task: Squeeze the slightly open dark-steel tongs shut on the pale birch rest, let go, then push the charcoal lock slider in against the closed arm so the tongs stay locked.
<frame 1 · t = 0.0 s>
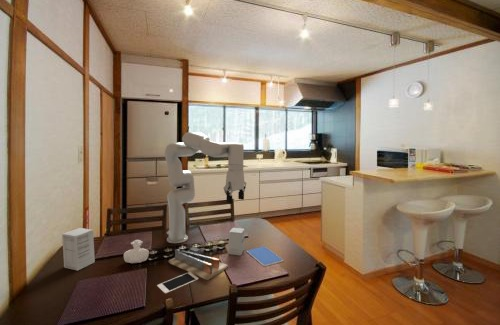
hand: (235, 201, 129), 31 cm above the table, fingers open, 9 cm apart
rest board: (177, 260, 130), on the table
tablet computer: (264, 257, 137), on the table
cell phone: (178, 283, 111), on the table
tongs hinged arm: (199, 258, 125), point 3 cm above the table, hinge at 10.0°
lock slider: (194, 252, 133), point 3 cm above the table, slide at 4.0 cm
supplement box 2: (79, 265, 124), on the table
supplement box: (236, 252, 141), on the table
white rounded piece: (136, 260, 130), on the table
tongs fixed arm: (193, 260, 123), on the rest board, point 4 cm above the table
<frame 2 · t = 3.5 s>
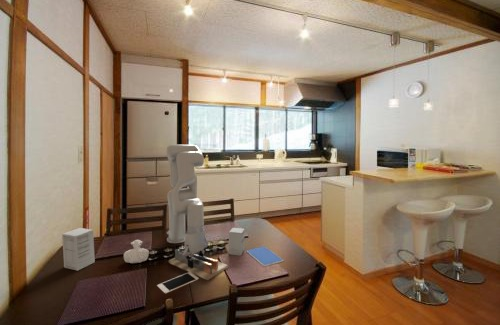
hand: (195, 264, 123), 2 cm above the table, fingers open, 6 cm apart
tongs hinged arm: (198, 259, 124), point 4 cm above the table, hinge at 6.8°, touching gripper
everything else where it was.
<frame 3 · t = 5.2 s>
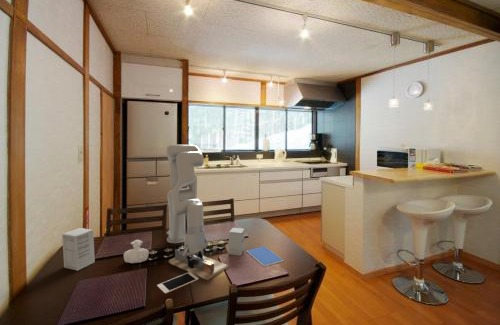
hand: (195, 264, 123), 2 cm above the table, fingers open, 5 cm apart
tongs hinged arm: (196, 260, 123), point 3 cm above the table, hinge at -0.4°
everything else where it was.
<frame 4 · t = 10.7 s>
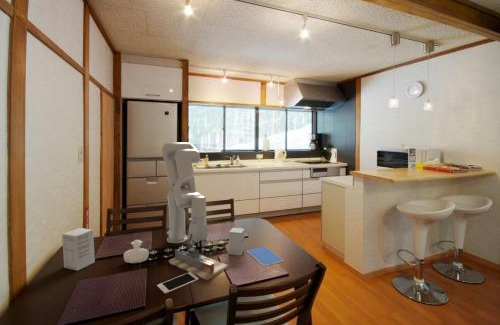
hand: (198, 252, 135), 2 cm above the table, fingers closed
lock slider: (193, 253, 132), point 3 cm above the table, slide at 3.0 cm, touching gripper
everything else where it was.
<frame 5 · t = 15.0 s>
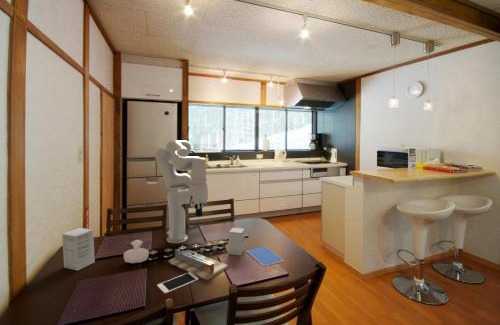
hand: (198, 215, 133), 22 cm above the table, fingers closed
lock slider: (188, 255, 129), point 3 cm above the table, slide at -0.1 cm
everything else where it was.
at the end: tongs hinged arm at +0° (first picture: +10°); lock slider slide at -0.1 cm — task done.
